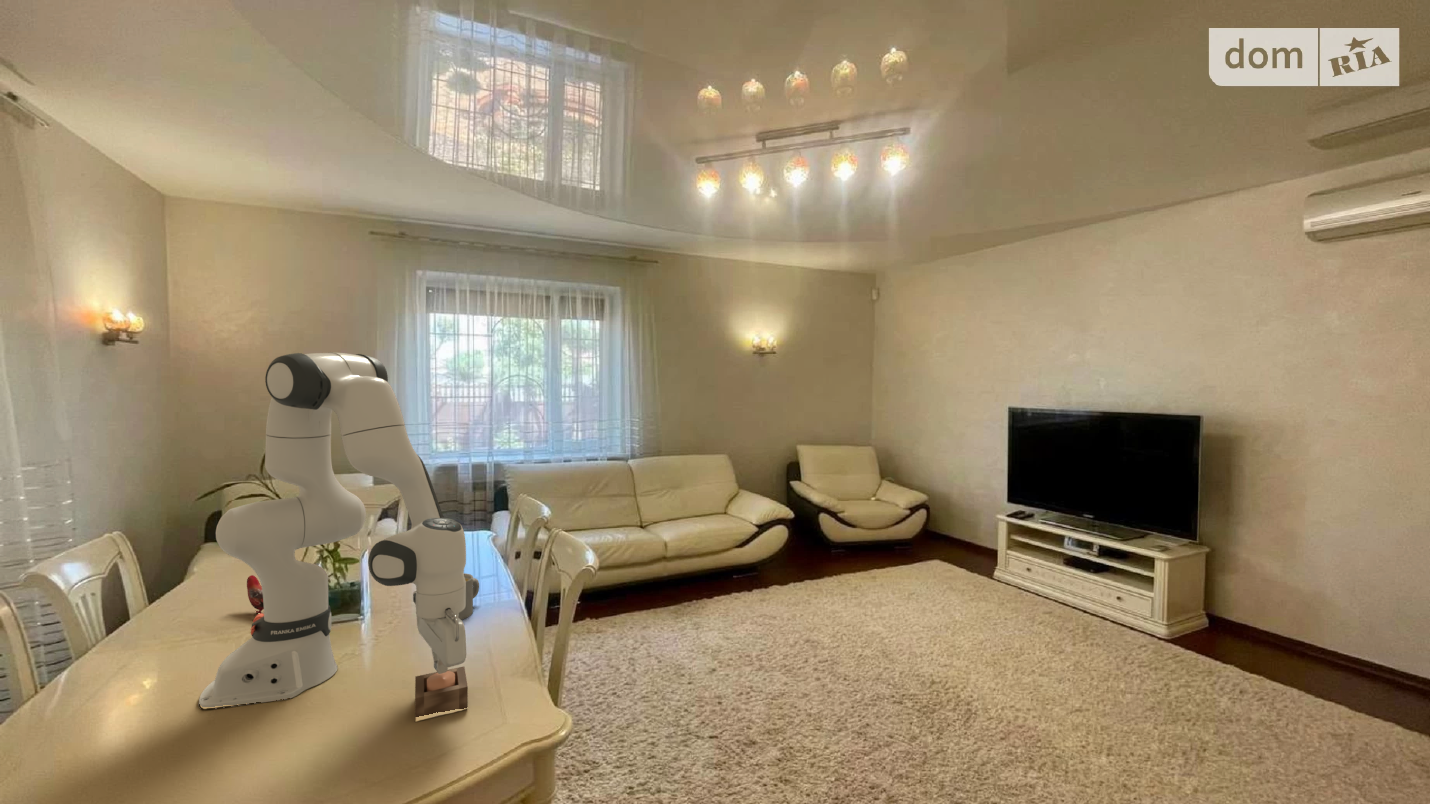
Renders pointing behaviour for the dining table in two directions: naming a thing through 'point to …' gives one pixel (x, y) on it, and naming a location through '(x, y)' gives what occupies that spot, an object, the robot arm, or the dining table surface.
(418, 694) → the button box
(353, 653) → the dining table surface
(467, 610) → the coffee mug
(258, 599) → the decorative bird figurine
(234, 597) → the dining table surface
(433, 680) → the push button
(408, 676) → the dining table surface
